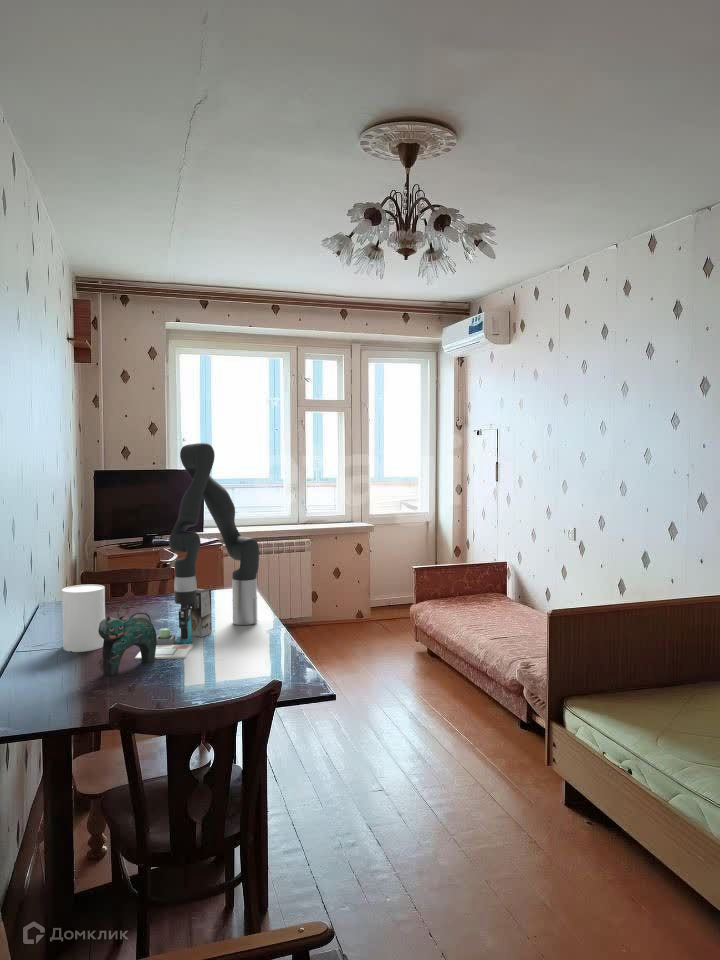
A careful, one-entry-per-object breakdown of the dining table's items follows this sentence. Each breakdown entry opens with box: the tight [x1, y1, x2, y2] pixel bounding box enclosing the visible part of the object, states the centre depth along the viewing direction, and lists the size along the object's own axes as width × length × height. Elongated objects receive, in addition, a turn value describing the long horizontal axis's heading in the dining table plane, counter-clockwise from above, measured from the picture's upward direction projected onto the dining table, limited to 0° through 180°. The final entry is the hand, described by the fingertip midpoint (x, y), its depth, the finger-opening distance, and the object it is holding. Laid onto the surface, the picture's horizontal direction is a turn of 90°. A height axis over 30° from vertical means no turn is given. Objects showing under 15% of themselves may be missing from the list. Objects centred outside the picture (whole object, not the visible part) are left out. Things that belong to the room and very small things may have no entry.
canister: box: [61, 583, 106, 653], centre depth 242 cm, size 14×14×20 cm
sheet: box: [134, 643, 194, 661], centre depth 235 cm, size 16×14×1 cm
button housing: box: [156, 634, 176, 645], centre depth 245 cm, size 6×6×2 cm
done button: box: [158, 627, 171, 639], centre depth 245 cm, size 4×4×3 cm
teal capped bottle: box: [180, 614, 192, 645], centre depth 247 cm, size 4×4×10 cm
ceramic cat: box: [98, 604, 157, 677], centre depth 219 cm, size 20×6×20 cm, turn 148°
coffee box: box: [191, 587, 213, 638], centre depth 258 cm, size 9×6×16 cm
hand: (186, 636), depth 247 cm, fingers open, 5 cm apart
